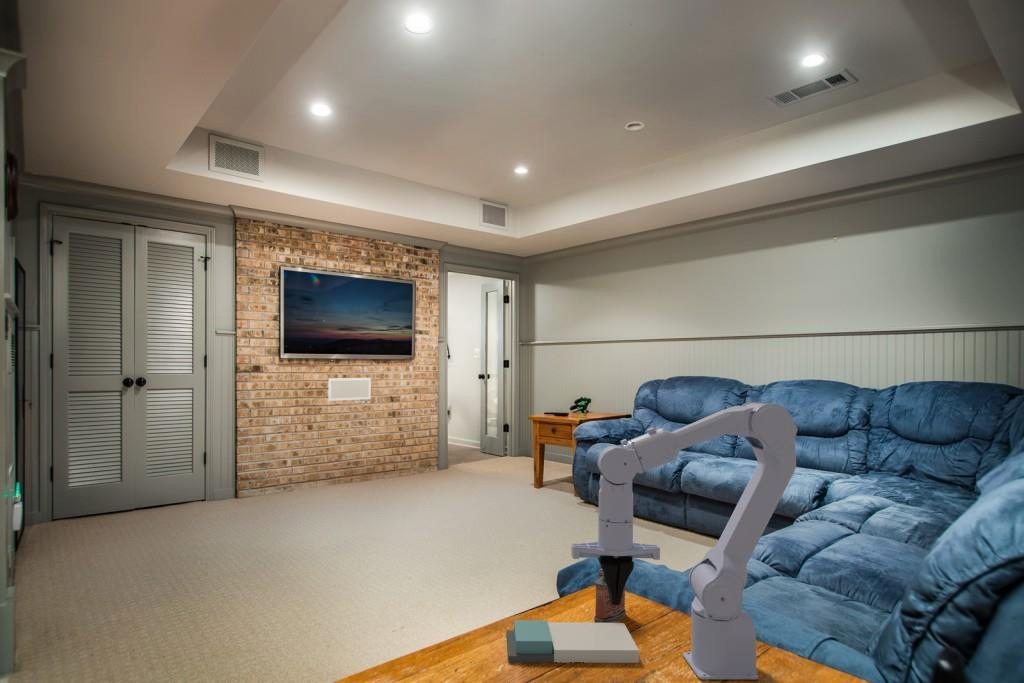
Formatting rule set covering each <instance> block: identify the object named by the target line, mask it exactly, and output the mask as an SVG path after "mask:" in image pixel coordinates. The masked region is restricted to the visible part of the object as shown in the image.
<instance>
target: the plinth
mask: <svg viewBox="0 0 1024 683" xmlns="http://www.w3.org/2000/svg"><path fill="white" fill-rule="evenodd" d="M548 625H549V629H550V633H551V637H552V649H553V653H554V663H555V662H557V663H560V662H561V663H565V664H566V663H570V662H572V664H575V663H574V662H581V663H582V662H584V663H583V664H585V663H586V664H590V662H591V664H594V663H595V664H599V663H600V664H604V663H605V664H607V663H608V664H616V663H617V664H640V649H639V648H638V645H637V644H636V642H635V640H634V638H633V637H632V635H631V633H630V632H629V629H628V628H627V626H626V624H625V623H624V622H613V623H595V622H558V621H557V622H553V621H550V622H549V621H548ZM557 663H556V664H557ZM561 663H560V664H561ZM581 663H580V664H581Z"/></svg>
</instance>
